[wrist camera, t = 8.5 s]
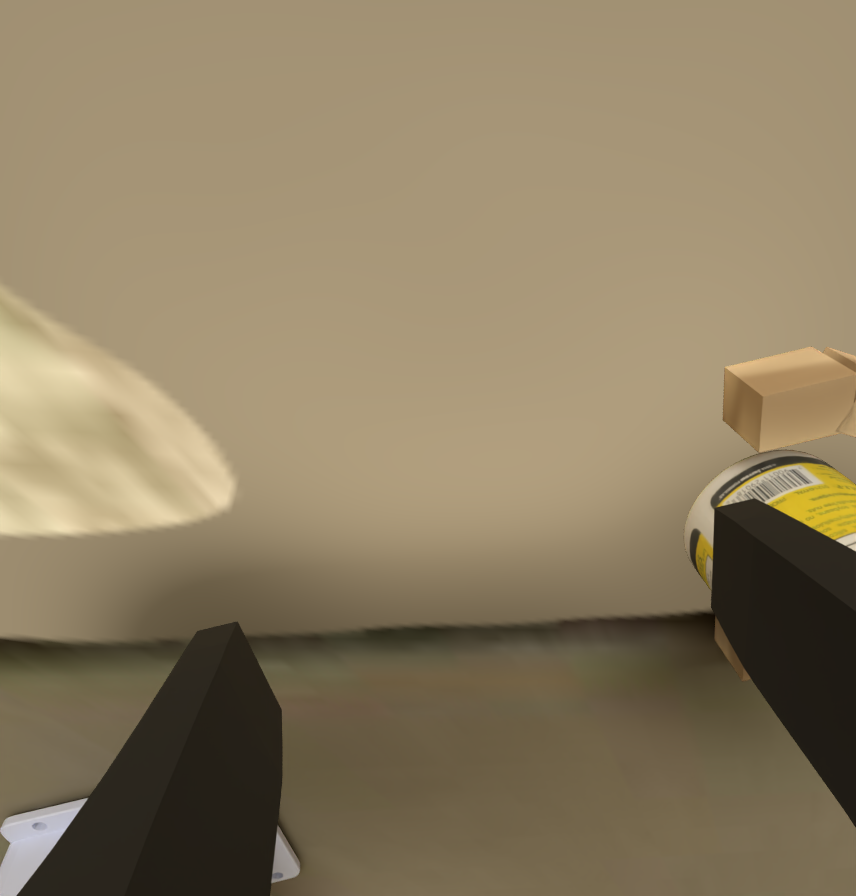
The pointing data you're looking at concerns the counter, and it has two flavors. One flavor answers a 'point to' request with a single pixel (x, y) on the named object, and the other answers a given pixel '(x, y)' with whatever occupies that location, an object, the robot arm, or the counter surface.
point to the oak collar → (788, 411)
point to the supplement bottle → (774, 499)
